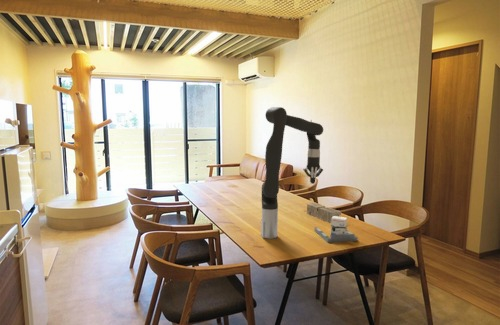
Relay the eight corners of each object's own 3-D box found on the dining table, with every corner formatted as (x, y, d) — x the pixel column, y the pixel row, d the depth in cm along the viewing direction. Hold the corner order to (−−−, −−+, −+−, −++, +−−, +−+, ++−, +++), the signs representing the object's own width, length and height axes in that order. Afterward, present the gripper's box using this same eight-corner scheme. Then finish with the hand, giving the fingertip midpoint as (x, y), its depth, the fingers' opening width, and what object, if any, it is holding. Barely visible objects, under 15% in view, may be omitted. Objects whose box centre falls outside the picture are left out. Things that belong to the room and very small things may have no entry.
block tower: (305, 214, 248) (331, 224, 222) (305, 203, 247) (332, 211, 221) (314, 213, 251) (341, 222, 225) (314, 202, 251) (341, 210, 225)
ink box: (330, 237, 196) (331, 217, 195) (331, 234, 201) (332, 215, 199) (345, 239, 193) (346, 219, 192) (346, 236, 198) (347, 217, 196)
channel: (327, 242, 188) (327, 235, 187) (314, 230, 208) (314, 224, 208) (357, 241, 191) (357, 234, 190) (341, 229, 211) (341, 223, 211)
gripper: (305, 156, 203) (304, 184, 206) (326, 156, 206) (324, 184, 208) (301, 155, 211) (300, 182, 213) (321, 155, 213) (320, 182, 215)
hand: (312, 183), depth 210 cm, fingers closed
